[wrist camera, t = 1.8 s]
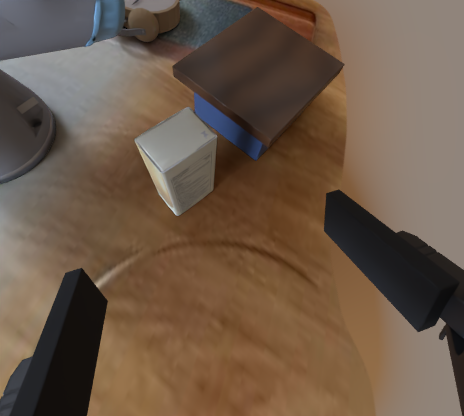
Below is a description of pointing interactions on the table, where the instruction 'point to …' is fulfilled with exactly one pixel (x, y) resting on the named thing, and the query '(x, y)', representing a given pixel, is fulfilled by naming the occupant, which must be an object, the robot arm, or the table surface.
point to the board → (258, 74)
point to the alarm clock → (150, 18)
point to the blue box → (229, 128)
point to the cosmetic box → (180, 159)
